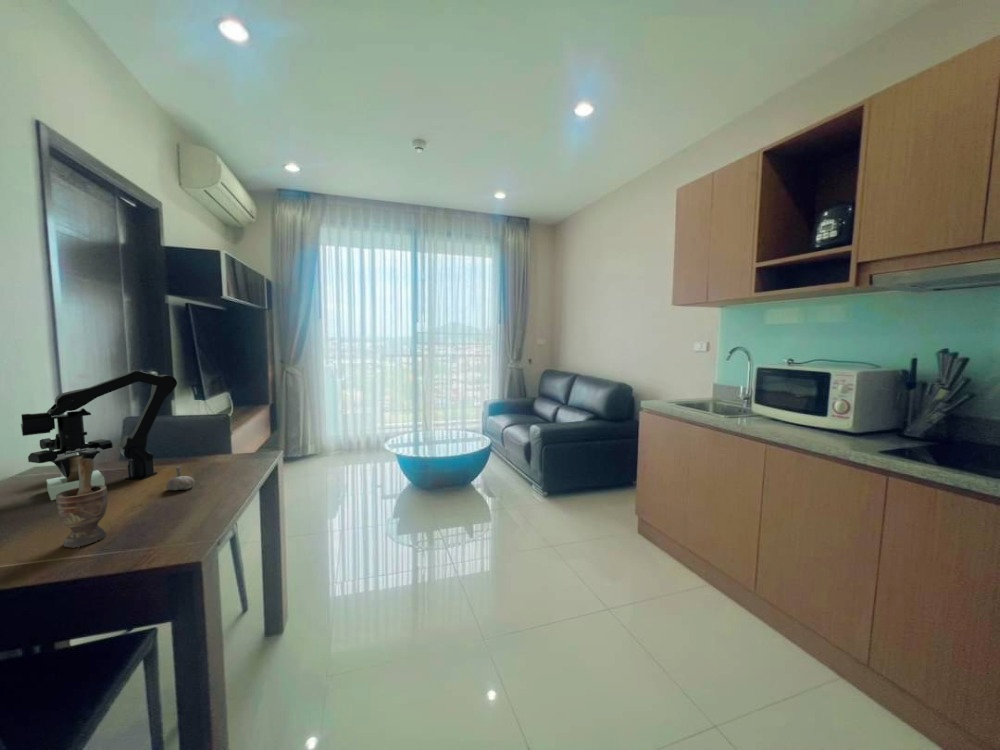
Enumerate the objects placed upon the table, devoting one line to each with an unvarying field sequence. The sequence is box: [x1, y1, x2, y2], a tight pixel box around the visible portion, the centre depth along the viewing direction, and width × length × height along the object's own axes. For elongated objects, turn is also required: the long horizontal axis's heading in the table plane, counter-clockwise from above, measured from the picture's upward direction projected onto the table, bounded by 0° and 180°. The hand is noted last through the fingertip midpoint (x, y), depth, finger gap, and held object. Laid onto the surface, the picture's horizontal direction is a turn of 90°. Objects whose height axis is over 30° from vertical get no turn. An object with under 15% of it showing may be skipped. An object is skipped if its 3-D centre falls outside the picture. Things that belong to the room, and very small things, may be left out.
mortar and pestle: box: [55, 458, 108, 549], centre depth 96 cm, size 12×9×20 cm
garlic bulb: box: [166, 466, 196, 491], centre depth 130 cm, size 8×7×8 cm
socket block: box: [46, 469, 106, 501], centre depth 128 cm, size 12×12×4 cm
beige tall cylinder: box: [65, 455, 83, 482], centre depth 128 cm, size 4×4×9 cm
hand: (75, 475), depth 128 cm, fingers closed on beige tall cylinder, 4 cm apart
